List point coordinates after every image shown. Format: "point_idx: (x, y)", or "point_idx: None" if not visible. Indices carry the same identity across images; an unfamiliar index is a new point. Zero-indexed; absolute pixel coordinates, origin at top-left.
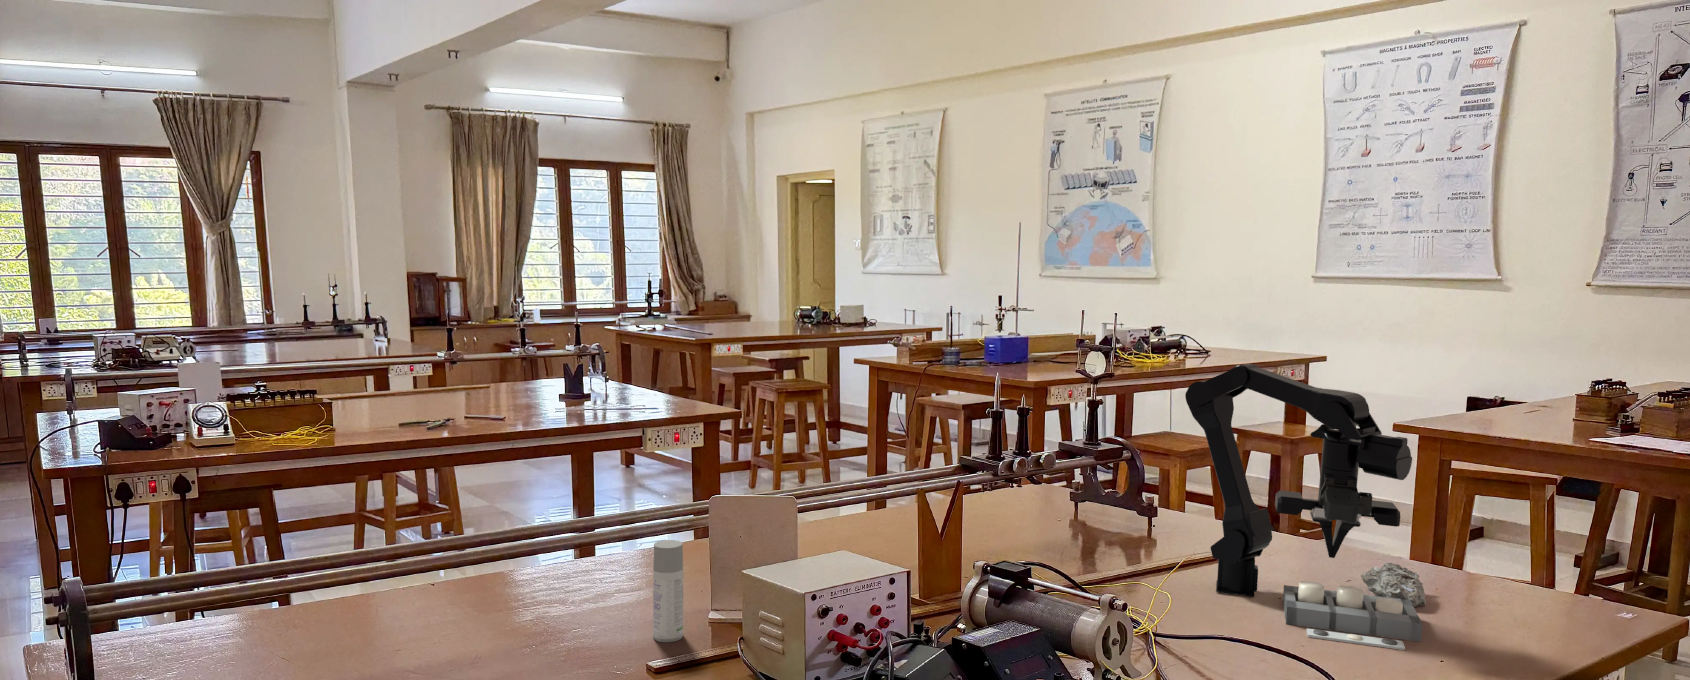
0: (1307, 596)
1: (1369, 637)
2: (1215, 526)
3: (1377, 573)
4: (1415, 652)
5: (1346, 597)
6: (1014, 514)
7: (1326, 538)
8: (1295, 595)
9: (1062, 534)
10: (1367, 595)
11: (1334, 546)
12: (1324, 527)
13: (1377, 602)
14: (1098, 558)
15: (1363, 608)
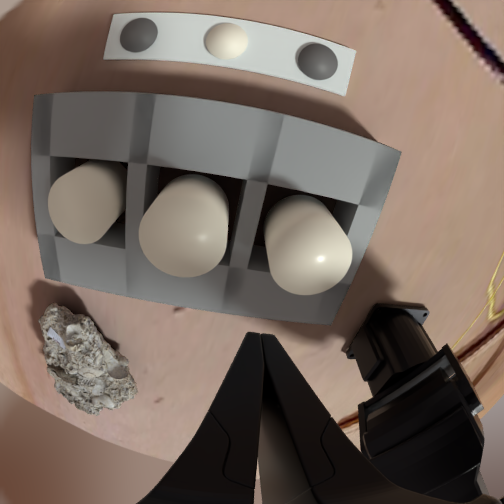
0: (328, 214)
1: (181, 55)
2: None
3: (108, 393)
4: (97, 13)
5: (205, 196)
6: None
7: (328, 421)
8: None
9: None
10: (128, 293)
11: (259, 380)
12: (379, 491)
13: (108, 199)
14: (474, 376)
15: None
